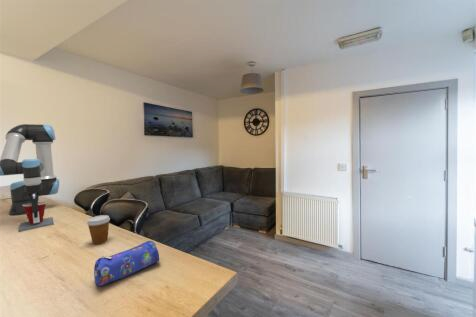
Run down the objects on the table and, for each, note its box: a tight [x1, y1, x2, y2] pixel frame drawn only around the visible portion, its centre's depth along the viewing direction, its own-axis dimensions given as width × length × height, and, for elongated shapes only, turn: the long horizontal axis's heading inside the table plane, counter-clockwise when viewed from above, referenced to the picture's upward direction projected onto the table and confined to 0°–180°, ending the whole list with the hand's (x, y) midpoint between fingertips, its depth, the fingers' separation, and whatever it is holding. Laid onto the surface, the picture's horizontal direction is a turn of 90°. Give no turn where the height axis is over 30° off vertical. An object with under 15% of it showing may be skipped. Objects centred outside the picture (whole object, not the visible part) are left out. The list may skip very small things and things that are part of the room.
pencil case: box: [93, 240, 160, 287], centre depth 77 cm, size 22×9×10 cm, turn 135°
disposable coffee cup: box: [86, 214, 111, 245], centre depth 103 cm, size 10×10×12 cm
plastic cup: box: [23, 201, 48, 224], centre depth 128 cm, size 11×11×12 cm
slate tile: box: [18, 216, 55, 233], centre depth 128 cm, size 15×15×1 cm
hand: (36, 220), depth 128 cm, fingers closed on plastic cup, 9 cm apart
